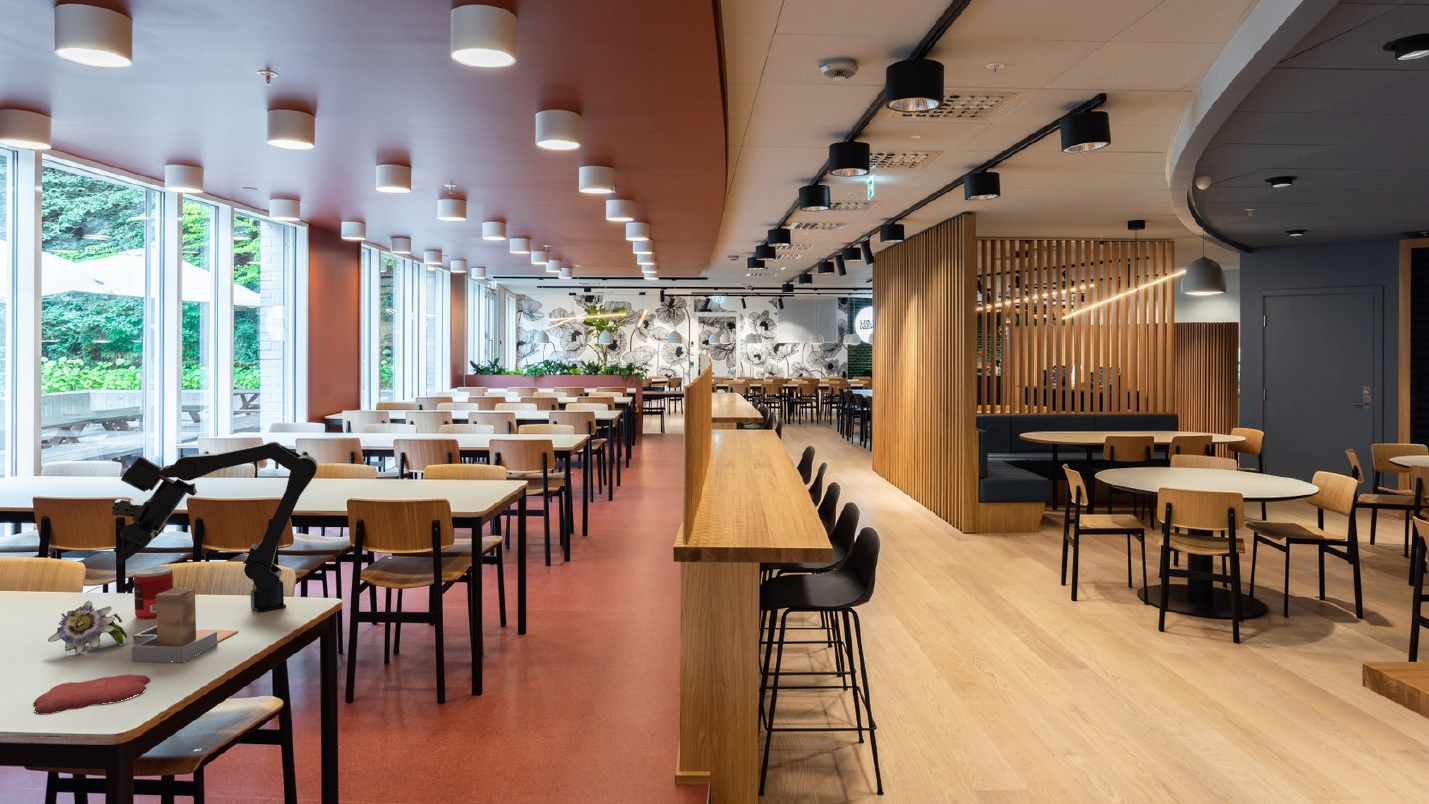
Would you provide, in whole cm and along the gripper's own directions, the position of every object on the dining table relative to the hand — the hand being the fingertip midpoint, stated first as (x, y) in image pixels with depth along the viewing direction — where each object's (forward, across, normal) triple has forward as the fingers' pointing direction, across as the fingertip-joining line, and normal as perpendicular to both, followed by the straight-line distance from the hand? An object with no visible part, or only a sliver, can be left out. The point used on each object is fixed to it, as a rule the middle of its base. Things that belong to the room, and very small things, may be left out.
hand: (122, 559), depth 205 cm
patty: (+10, +51, +13) cm, 53 cm away
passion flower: (+14, +19, +6) cm, 25 cm away
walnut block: (+4, +30, +21) cm, 37 cm away
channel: (+4, +30, +21) cm, 37 cm away
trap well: (+6, +17, +17) cm, 25 cm away
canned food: (+9, -3, +13) cm, 16 cm away
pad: (+1, +22, +25) cm, 33 cm away
